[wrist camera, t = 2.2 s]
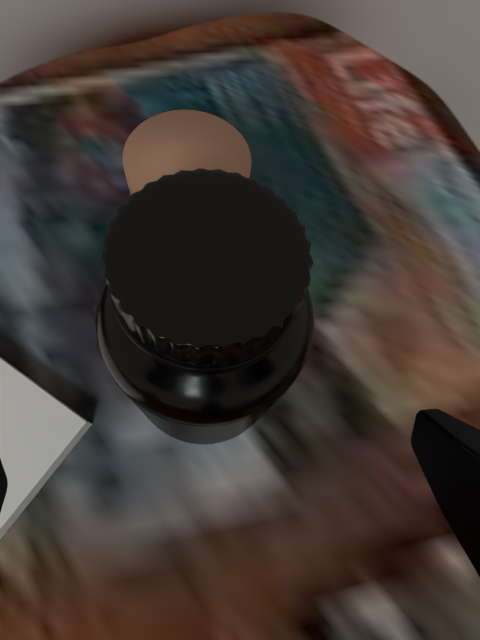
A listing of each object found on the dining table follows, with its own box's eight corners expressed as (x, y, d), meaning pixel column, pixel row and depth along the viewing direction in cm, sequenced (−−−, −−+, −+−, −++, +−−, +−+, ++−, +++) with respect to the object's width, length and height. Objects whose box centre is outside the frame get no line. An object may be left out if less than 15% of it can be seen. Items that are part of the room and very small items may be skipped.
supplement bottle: (290, 423, 19) (407, 361, 8) (152, 462, 18) (70, 454, 7) (250, 299, 22) (301, 117, 10) (125, 327, 20) (30, 156, 9)
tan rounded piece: (260, 212, 24) (274, 149, 19) (203, 284, 22) (203, 234, 17) (180, 163, 25) (174, 91, 20) (117, 229, 22) (94, 166, 18)
